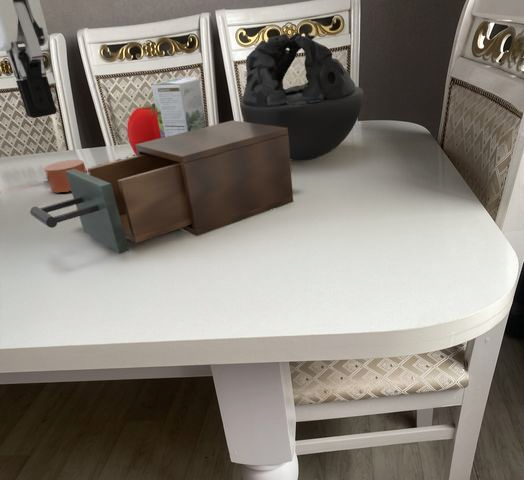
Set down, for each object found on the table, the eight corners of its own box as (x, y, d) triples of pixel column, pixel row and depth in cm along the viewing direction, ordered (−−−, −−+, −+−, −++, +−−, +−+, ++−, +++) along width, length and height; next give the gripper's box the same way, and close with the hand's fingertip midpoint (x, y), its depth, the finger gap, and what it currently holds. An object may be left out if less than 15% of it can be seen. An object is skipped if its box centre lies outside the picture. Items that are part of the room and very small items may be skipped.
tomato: (120, 168, 100) (106, 109, 95) (161, 152, 108) (150, 97, 102) (166, 171, 94) (154, 109, 88) (206, 155, 102) (197, 96, 96)
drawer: (68, 271, 58) (44, 201, 53) (37, 246, 66) (14, 183, 61) (223, 217, 67) (214, 154, 63) (180, 201, 75) (168, 144, 71)
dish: (58, 196, 88) (51, 172, 86) (46, 190, 92) (38, 166, 90) (95, 186, 91) (89, 162, 89) (82, 180, 95) (75, 157, 93)
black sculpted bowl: (271, 145, 102) (260, 33, 92) (374, 143, 95) (375, 21, 85) (229, 176, 87) (210, 45, 77) (347, 175, 80) (344, 31, 69)
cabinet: (197, 236, 65) (182, 156, 60) (151, 215, 74) (134, 144, 69) (293, 201, 72) (287, 127, 67) (241, 186, 81) (232, 120, 76)
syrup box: (185, 166, 95) (169, 78, 87) (213, 167, 93) (199, 76, 85) (168, 176, 91) (149, 83, 83) (196, 176, 89) (179, 81, 81)
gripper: (-67, -65, 57) (-4, 116, 67) (-43, -92, 47) (28, 127, 57) (4, -68, 61) (54, 105, 71) (40, -93, 50) (93, 114, 60)
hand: (42, 115), depth 64 cm, fingers closed
